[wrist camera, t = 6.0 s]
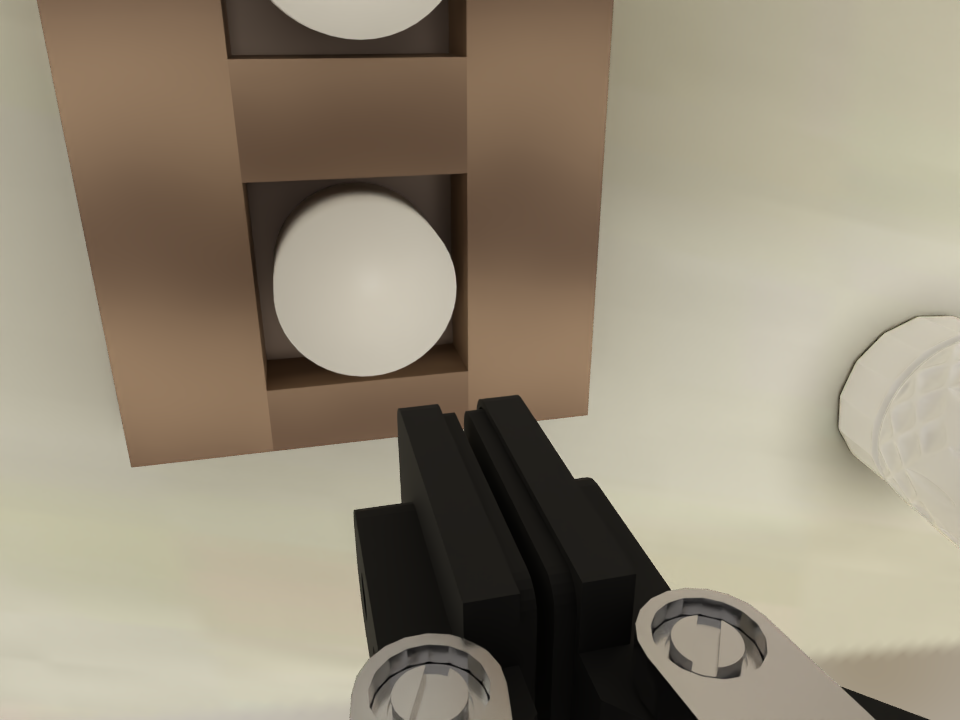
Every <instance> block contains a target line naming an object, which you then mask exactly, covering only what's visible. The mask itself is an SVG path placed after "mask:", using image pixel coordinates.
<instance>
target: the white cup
mask: <svg viewBox="0 0 960 720" xmlns="http://www.w3.org/2000/svg"><path fill="white" fill-rule="evenodd" d="M839 430H840V432H841V434H842V436H843V438H844V440H845V442H846V443H847V445H848V447H849V449H850V451H851V453H852V454H853V455H854V456H855V457H856V458H858V459H859V460H860V461H861V462H862V463H864V464H865V465H866V466H867V467H869V468H870V469H871V470H872V471H873V472H875V473H876V474H877V475H878V476H879V477H881V478H882V479H883V480H884V481H886V482H887V483H888V484H889V485H890V486H891V487H892V489H893V490H894V491H895V492H896V493H897V494H898V495H899V496H900V497H901V498H902V499H903V500H904V501H905V502H906V503H907V504H908V505H909V506H911V507H912V508H913V509H914V510H916V511H917V512H918V513H919V514H921V515H922V516H923V517H924V518H925V519H926V520H927V521H928V522H929V523H930V524H931V525H932V526H933V527H934V528H935V529H936V530H938V531H939V532H940V533H941V534H942V535H943V536H945V537H946V538H947V539H948V540H949V541H950V542H952V543H953V544H954V545H955V546H956V547H958V548H959V549H960V319H959V318H956V317H954V316H922V317H916V318H914V319H912V320H910V321H908V322H906V323H904V324H902V325H900V326H898V327H896V328H894V329H892V330H890V331H888V332H886V333H884V334H883V335H882V336H881V337H880V338H879V339H878V340H877V341H876V342H875V343H874V344H873V345H872V346H871V347H870V348H869V349H868V350H867V351H866V352H865V353H864V354H863V355H862V356H861V357H860V358H859V359H858V361H857V362H856V363H855V365H854V367H853V369H852V372H851V374H850V376H849V378H848V380H847V382H846V384H845V386H844V388H843V391H842V393H841V395H840V407H839Z"/></svg>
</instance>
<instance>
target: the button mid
mask: <svg viewBox="0 0 960 720" xmlns="http://www.w3.org/2000/svg"><path fill="white" fill-rule="evenodd" d="M441 1H442V0H271V2H272V3H273V4H274V5H275V6H276V7H278V8H279V9H280V10H281V11H282V12H283V13H285V14H286V15H287V16H289V17H290V18H292V19H293V20H295V21H296V22H298V23H300V24H302V25H304V26H306V27H308V28H310V29H313V30H315V31H318V32H321V33H324V34H327V35H330V36H335V37H339V38H344V39H357V40H364V39H376V38H381V37H385V36H390V35H393V34H395V33H398V32H401V31H403V30H405V29H407V28H409V27H411V26H412V25H414V24H416V23H418V22H419V21H420V20H422V19H423V18H424V17H426V16H427V15H428V14H429V13H430V12H431V11H432V10H433V9H434V8H435V7H436V6H437V5H438V4H439V3H440V2H441Z"/></svg>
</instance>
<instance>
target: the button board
mask: <svg viewBox="0 0 960 720" xmlns="http://www.w3.org/2000/svg"><path fill="white" fill-rule="evenodd" d="M613 2H614V0H442V1H441V2H440V3H439V4H438V5H437V6H436V7H435V8H434V9H433V10H432V11H431V12H430V13H429V14H428V15H427V16H426V17H424V18H423V19H422V20H420V21H419V22H418V23H416V24H414V25H412V26H411V27H409V28H407V29H405V30H403V31H401V32H398V33H395V34H393V35H390V36H385V37H381V38H376V39H364V40H357V39H344V38H339V37H335V36H330V35H327V34H324V33H321V32H318V31H315V30H313V29H310V28H308V27H306V26H304V25H302V24H300V23H298V22H296V21H295V20H293V19H292V18H290V17H289V16H287V15H286V14H285V13H283V12H282V11H281V10H280V9H279V8H278V7H276V6H275V5H274V4H273V3H272V2H271V0H37V3H38V8H39V13H40V18H41V23H42V28H43V33H44V38H45V43H46V48H47V53H48V58H49V63H50V68H51V73H52V78H53V83H54V88H55V92H56V97H57V102H58V107H59V112H60V117H61V122H62V127H63V132H64V137H65V142H66V147H67V152H68V157H69V162H70V167H71V172H72V176H73V181H74V186H75V191H76V196H77V201H78V206H79V211H80V216H81V221H82V226H83V231H84V236H85V241H86V246H87V251H88V256H89V260H90V265H91V270H92V275H93V280H94V285H95V290H96V295H97V300H98V305H99V310H100V315H101V320H102V325H103V330H104V335H105V340H106V345H107V349H108V354H109V359H110V364H111V369H112V374H113V379H114V384H115V389H116V394H117V399H118V404H119V409H120V414H121V419H122V424H123V429H124V433H125V438H126V443H127V448H128V453H129V458H130V463H131V467H139V466H148V465H157V464H166V463H174V462H183V461H192V460H200V459H209V458H218V457H226V456H235V455H244V454H253V453H261V452H270V451H279V450H287V449H296V448H305V447H314V446H322V445H331V444H340V443H348V442H357V441H366V440H375V439H383V438H392V437H398V427H397V411H398V408H406V407H415V406H423V405H432V404H438V405H439V406H440V408H441V411H442V413H443V414H444V413H453V412H455V414H456V416H457V418H458V420H459V422H460V424H461V427H462V429H464V414H465V411H470V410H477V403H478V400H479V399H485V398H494V397H502V396H511V395H519V396H520V397H521V398H522V400H523V401H524V403H525V404H526V406H527V407H528V409H529V410H530V412H531V413H532V415H533V416H534V418H535V419H536V421H540V420H549V419H558V418H566V417H575V416H584V415H588V399H589V383H590V367H591V352H592V336H593V320H594V304H595V288H596V272H597V256H598V240H599V225H600V209H601V193H602V177H603V161H604V145H605V129H606V113H607V98H608V82H609V66H610V50H611V34H612V18H613ZM351 182H357V183H369V184H375V185H379V186H382V187H385V188H388V189H390V190H392V191H394V192H396V193H398V194H399V195H401V196H403V197H404V198H406V199H407V200H408V201H409V202H411V203H412V204H413V205H414V206H415V207H416V208H417V209H418V210H419V211H420V213H421V214H422V215H423V216H424V218H425V219H426V220H427V222H428V223H429V224H430V226H431V227H432V228H433V230H434V231H435V232H436V234H437V235H438V236H439V238H440V239H441V240H442V242H443V243H444V245H445V247H446V249H447V250H448V252H449V254H450V257H451V260H452V262H453V266H454V270H455V275H456V286H457V287H456V300H455V305H454V309H453V313H452V316H451V319H450V321H449V323H448V325H447V327H446V329H445V331H444V332H443V334H442V335H441V337H440V338H439V340H438V341H437V342H436V343H435V344H434V346H433V347H432V348H431V349H430V350H428V351H427V352H426V353H425V354H424V355H423V356H421V357H420V358H419V359H417V360H416V361H414V362H413V363H411V364H409V365H407V366H406V367H403V368H401V369H398V370H396V371H393V372H390V373H386V374H382V375H375V376H350V375H345V374H340V373H336V372H333V371H330V370H327V369H325V368H323V367H321V366H319V365H317V364H315V363H314V362H312V361H311V360H309V359H308V358H306V357H305V356H304V355H303V354H302V353H301V352H299V351H298V350H297V348H296V347H295V346H294V345H293V344H292V343H291V342H290V340H289V339H288V337H287V336H286V334H285V333H284V331H283V329H282V327H281V325H280V323H279V320H278V317H277V314H276V310H275V304H274V292H273V255H274V247H275V243H276V239H277V237H278V234H279V232H280V229H281V227H282V225H283V224H284V222H285V220H286V219H287V217H288V216H289V215H290V213H291V212H292V211H293V210H294V209H295V208H296V207H297V206H298V205H299V204H300V203H301V202H302V201H304V200H305V199H306V198H308V197H309V196H310V195H312V194H314V193H316V192H318V191H320V190H322V189H325V188H327V187H330V186H333V185H338V184H342V183H351Z"/></svg>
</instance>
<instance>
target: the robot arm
mask: <svg viewBox="0 0 960 720" xmlns="http://www.w3.org/2000/svg"><path fill="white" fill-rule="evenodd" d="M397 427H398V446H399V464H400V482H401V500H402V503H400V504H393V505H386V506H379V507H372V508H365V509H357V510H354V528H355V541H356V552H357V564H358V574H359V583H360V592H361V601H362V609H363V616H364V623H365V630H366V637H367V643H368V650H369V656H370V659H368V661H367V662H366V663H365V665H364V666H363V668H362V669H361V670H360V672H359V673H358V675H357V676H356V680H355V683H354V687H353V691H352V694H351V706H350V719H349V720H929V719H926V718H923V717H921V716H918V715H915V714H913V713H910V712H907V711H904V710H902V709H899V708H897V707H894V706H891V705H889V704H886V703H883V702H881V701H878V700H875V699H873V698H870V697H867V696H865V695H862V694H859V693H856V692H854V691H851V690H849V689H846V688H843V687H841V686H839V685H838V684H837V683H836V682H835V681H834V680H833V679H832V678H831V677H829V676H828V675H827V674H826V673H825V672H824V671H823V670H822V669H821V668H820V667H819V666H818V665H817V664H816V663H815V662H814V661H813V660H812V659H810V658H809V657H808V656H807V655H806V654H805V653H804V652H803V651H802V650H801V649H800V648H799V647H798V646H797V645H796V644H795V643H794V642H792V641H791V640H790V639H789V638H788V637H787V636H786V635H785V634H784V633H783V632H782V631H781V630H780V629H779V628H778V627H777V626H776V625H774V624H773V623H772V622H771V621H770V620H769V619H768V618H767V617H766V616H765V615H763V614H762V613H761V612H759V611H758V610H757V609H755V608H754V607H753V606H751V605H750V604H748V603H746V602H744V601H742V600H740V599H738V598H735V597H733V596H731V595H729V594H725V593H721V592H717V591H713V590H709V589H697V588H683V589H677V590H671V589H670V588H669V586H668V585H667V583H666V582H665V581H664V579H663V578H662V576H661V575H660V573H659V572H658V570H657V569H656V568H655V566H654V565H653V563H652V562H651V560H650V559H649V558H648V556H647V555H646V553H645V552H644V550H643V549H642V547H641V546H640V545H639V543H638V542H637V540H636V539H635V537H634V536H633V535H632V533H631V532H630V530H629V529H628V527H627V526H626V524H625V523H624V522H623V520H622V519H621V517H620V516H619V514H618V513H617V511H616V510H615V509H614V507H613V506H612V504H611V503H610V501H609V500H608V499H607V497H606V496H605V494H604V493H603V491H602V490H601V488H600V487H599V486H598V484H597V483H596V482H595V481H594V480H593V479H592V478H588V477H586V478H579V479H574V478H573V476H572V475H571V473H570V471H569V470H568V468H567V467H566V465H565V464H564V462H563V461H562V459H561V458H560V456H559V455H558V453H557V452H556V450H555V448H554V447H553V445H552V444H551V442H550V441H549V439H548V438H547V436H546V435H545V433H544V432H543V430H542V429H541V427H540V426H539V424H538V422H537V421H536V419H535V418H534V416H533V415H532V413H531V412H530V410H529V409H528V407H527V406H526V404H525V403H524V401H523V400H522V398H521V397H520V396H519V395H511V396H502V397H494V398H485V399H479V400H478V403H477V410H470V411H465V414H464V431H463V429H462V427H461V424H460V422H459V420H458V418H457V416H456V414H455V412H453V413H444V414H443V413H442V411H441V408H440V406H439V405H438V404H432V405H423V406H415V407H406V408H398V411H397Z"/></svg>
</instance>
